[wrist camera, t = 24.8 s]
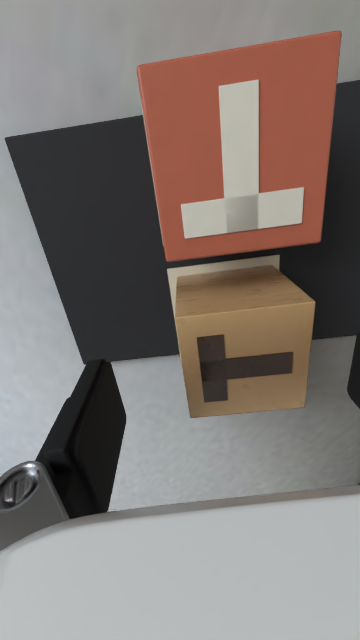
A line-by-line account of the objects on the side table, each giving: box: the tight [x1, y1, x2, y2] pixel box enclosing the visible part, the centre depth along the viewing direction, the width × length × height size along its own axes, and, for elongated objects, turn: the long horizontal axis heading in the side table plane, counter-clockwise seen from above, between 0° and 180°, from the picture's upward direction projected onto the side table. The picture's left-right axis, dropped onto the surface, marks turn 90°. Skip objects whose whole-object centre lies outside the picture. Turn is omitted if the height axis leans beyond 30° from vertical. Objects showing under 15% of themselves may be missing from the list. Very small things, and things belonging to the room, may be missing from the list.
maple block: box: [175, 265, 315, 418], centre depth 13 cm, size 5×5×5 cm
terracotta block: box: [137, 31, 342, 262], centre depth 10 cm, size 5×5×5 cm
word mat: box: [5, 80, 360, 364], centre depth 14 cm, size 18×13×1 cm
